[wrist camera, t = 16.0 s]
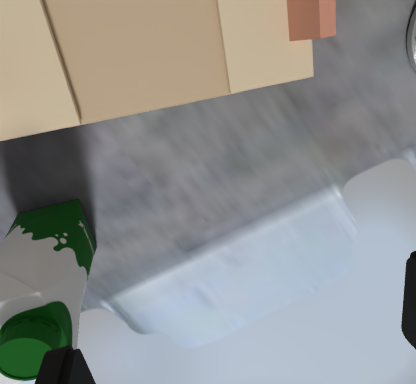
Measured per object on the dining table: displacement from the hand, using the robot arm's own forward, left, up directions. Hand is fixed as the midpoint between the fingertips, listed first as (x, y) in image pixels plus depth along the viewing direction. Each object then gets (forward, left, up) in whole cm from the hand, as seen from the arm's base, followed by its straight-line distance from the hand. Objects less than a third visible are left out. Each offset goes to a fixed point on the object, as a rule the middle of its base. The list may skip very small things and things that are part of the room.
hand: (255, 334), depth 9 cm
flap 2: (-10, -9, -24) cm, 27 cm away
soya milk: (+16, +10, -32) cm, 38 cm away
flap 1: (+12, -9, -24) cm, 28 cm away
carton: (+1, -9, -32) cm, 34 cm away
